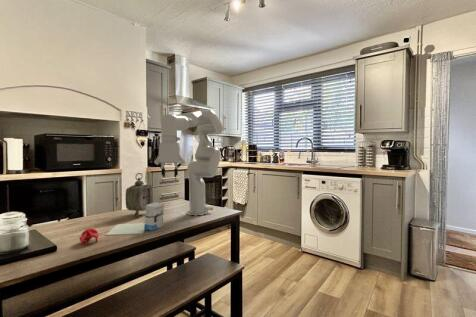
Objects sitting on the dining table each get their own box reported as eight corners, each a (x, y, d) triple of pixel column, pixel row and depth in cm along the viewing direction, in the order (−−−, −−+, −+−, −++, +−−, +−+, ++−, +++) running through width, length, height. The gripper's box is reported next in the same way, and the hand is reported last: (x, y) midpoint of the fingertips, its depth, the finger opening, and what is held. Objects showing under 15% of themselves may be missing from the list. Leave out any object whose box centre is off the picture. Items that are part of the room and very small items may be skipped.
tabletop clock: (139, 218, 143) (138, 174, 142) (124, 218, 144) (123, 174, 143) (152, 212, 157) (151, 171, 156) (138, 211, 159) (138, 171, 158)
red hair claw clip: (102, 235, 106) (100, 224, 110) (87, 234, 102) (85, 223, 106) (93, 249, 108) (91, 238, 112) (77, 248, 103) (76, 237, 107)
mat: (149, 223, 133) (149, 223, 133) (142, 233, 117) (142, 233, 117) (117, 225, 131) (117, 224, 131) (105, 235, 115) (105, 234, 115)
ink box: (152, 231, 121) (153, 206, 120) (143, 229, 123) (145, 205, 122) (163, 226, 129) (164, 203, 128) (154, 224, 131) (156, 201, 130)
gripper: (187, 140, 130) (187, 175, 131) (152, 140, 128) (153, 176, 128) (186, 139, 123) (186, 177, 124) (149, 139, 120) (150, 178, 121)
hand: (169, 176), depth 126 cm, fingers open, 4 cm apart
